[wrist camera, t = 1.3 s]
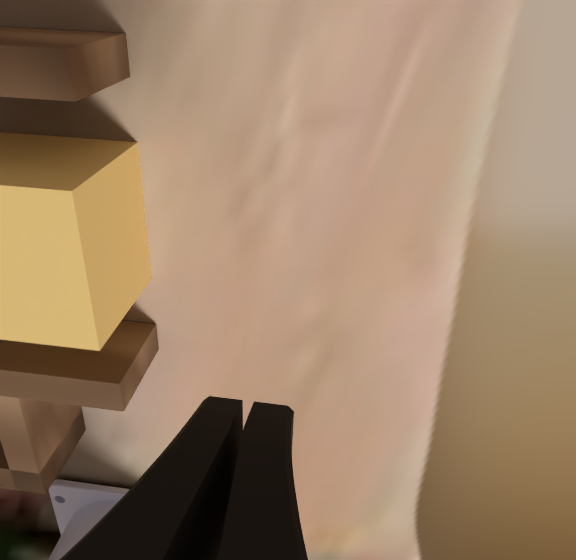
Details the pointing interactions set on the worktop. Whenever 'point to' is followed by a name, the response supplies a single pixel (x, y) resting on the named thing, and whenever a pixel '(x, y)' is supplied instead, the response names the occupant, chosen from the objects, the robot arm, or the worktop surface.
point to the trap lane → (46, 358)
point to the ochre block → (69, 238)
